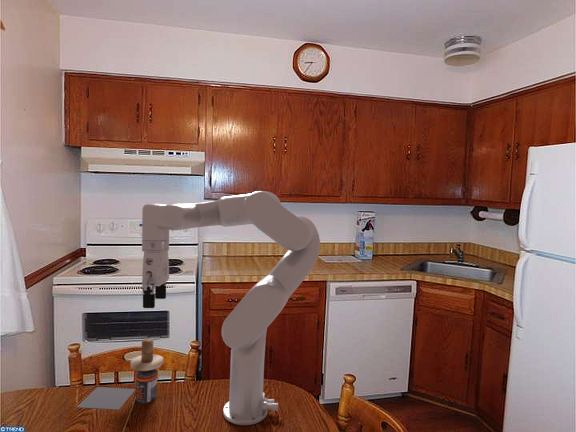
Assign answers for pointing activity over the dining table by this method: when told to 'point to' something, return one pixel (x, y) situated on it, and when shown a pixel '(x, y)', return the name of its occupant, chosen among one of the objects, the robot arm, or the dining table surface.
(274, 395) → the dining table surface
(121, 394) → the mat
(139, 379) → the supplement bottle
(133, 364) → the lid
